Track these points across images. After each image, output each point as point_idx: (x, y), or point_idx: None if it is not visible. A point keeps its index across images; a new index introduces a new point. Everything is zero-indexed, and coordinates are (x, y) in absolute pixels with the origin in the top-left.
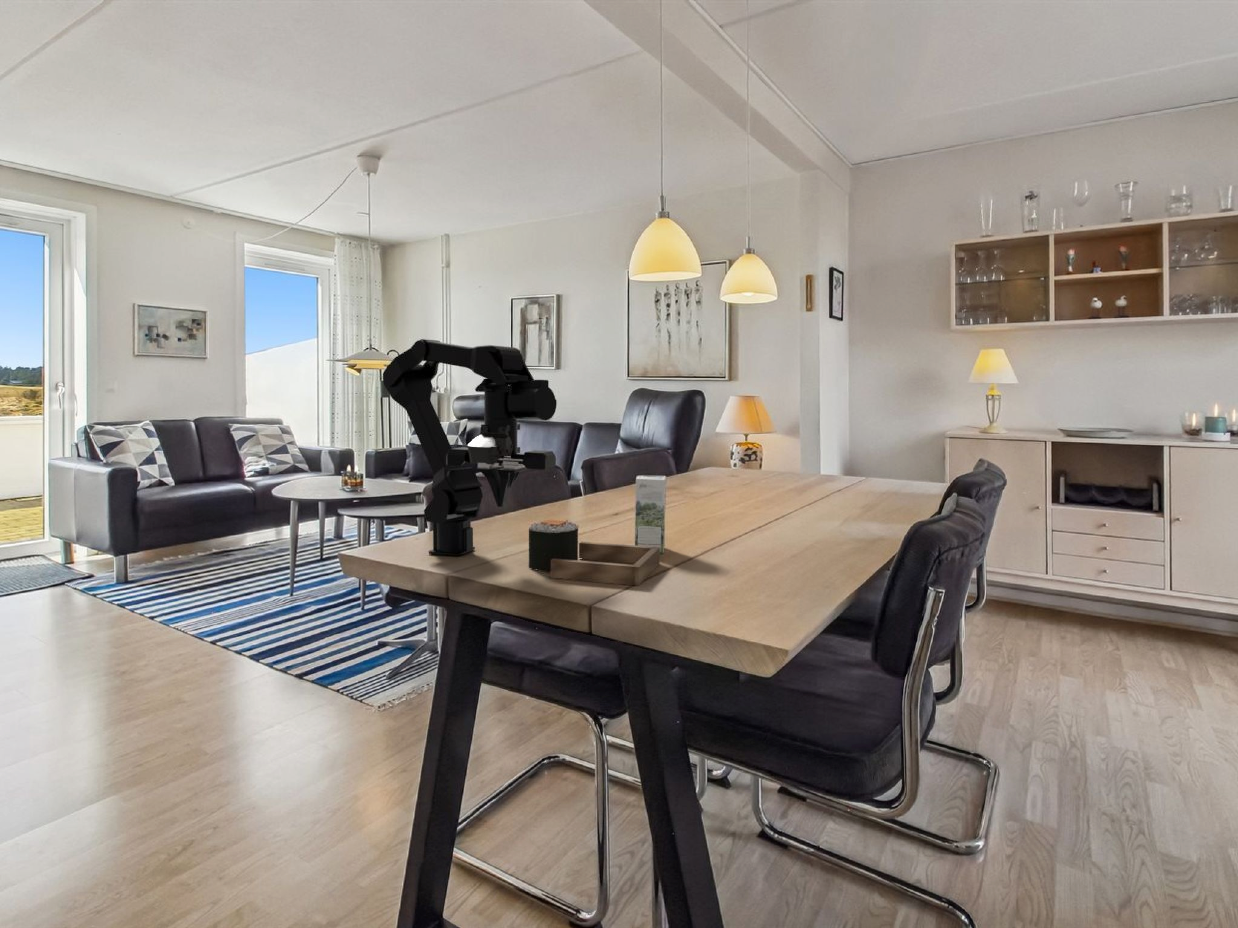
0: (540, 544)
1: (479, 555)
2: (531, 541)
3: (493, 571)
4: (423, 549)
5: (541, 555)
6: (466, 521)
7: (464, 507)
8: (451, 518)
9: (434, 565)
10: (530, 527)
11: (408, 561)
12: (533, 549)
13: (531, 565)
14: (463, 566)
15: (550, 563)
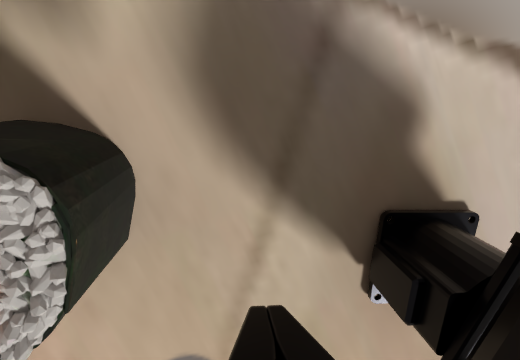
0: (5, 138)
1: (333, 247)
2: (58, 155)
3: (212, 75)
4: None
5: (30, 130)
6: (440, 319)
7: (497, 332)
8: (506, 285)
9: (414, 96)
10: (25, 179)
11: (500, 120)
12: (63, 144)
13: (103, 141)
14: (328, 110)
15: (6, 122)
